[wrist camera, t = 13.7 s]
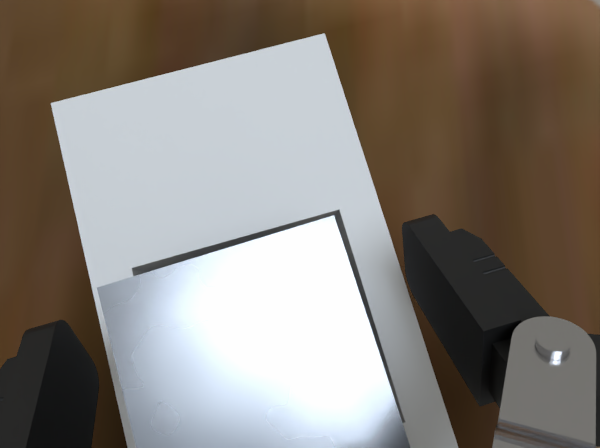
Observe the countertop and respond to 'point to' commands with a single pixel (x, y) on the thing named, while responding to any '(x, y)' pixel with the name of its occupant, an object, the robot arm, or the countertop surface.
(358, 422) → the steel square peg
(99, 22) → the countertop surface
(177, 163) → the white square hole block
